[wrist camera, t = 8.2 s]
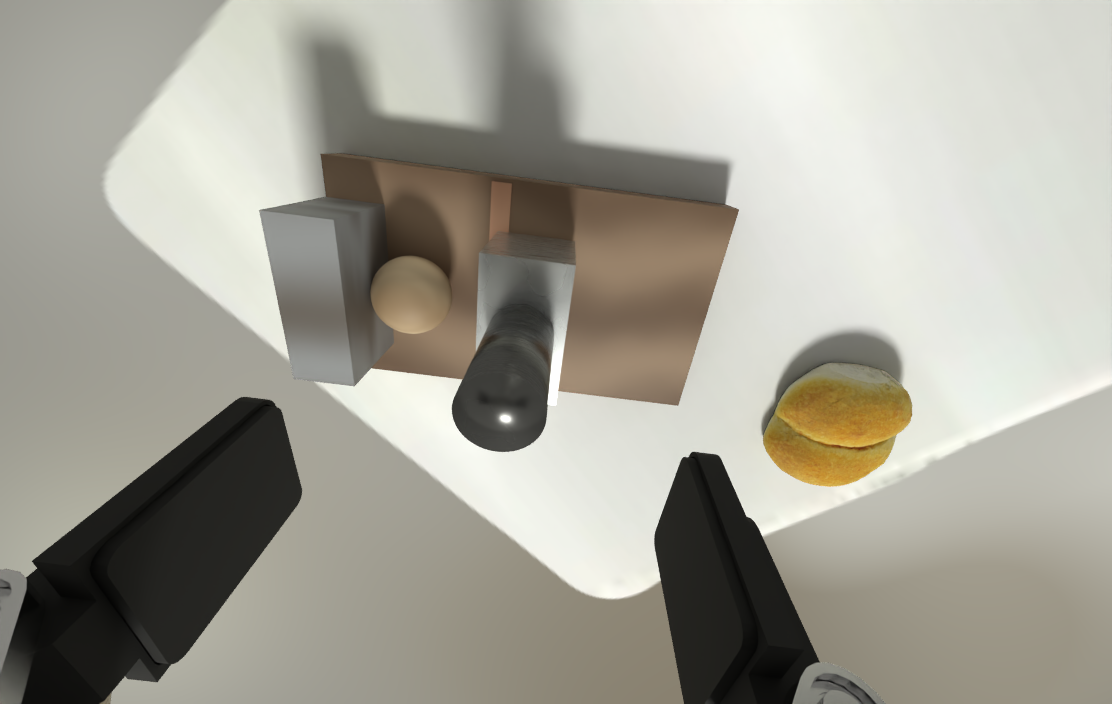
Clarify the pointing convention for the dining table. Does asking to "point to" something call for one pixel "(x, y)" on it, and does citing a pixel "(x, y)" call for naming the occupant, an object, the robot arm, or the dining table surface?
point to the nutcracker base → (452, 274)
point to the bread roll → (837, 423)
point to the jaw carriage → (516, 340)
